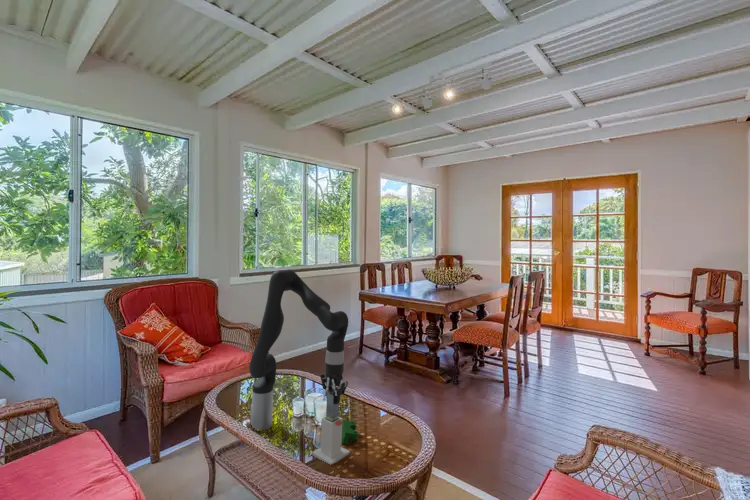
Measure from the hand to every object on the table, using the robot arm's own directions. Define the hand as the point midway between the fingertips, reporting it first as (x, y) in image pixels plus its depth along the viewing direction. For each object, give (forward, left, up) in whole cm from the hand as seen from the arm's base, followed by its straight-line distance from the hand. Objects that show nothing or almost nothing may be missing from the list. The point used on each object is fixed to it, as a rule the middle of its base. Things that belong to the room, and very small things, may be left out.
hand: (332, 401), depth 150 cm
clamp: (-3, +14, -22) cm, 26 cm away
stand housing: (0, 0, -22) cm, 22 cm away
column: (0, 0, -15) cm, 15 cm away
